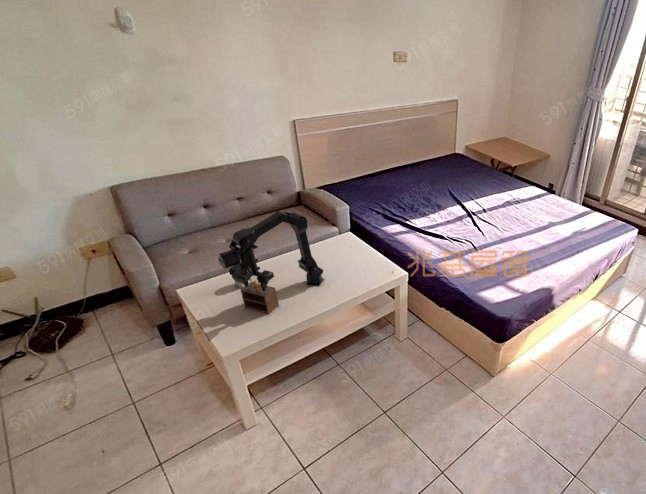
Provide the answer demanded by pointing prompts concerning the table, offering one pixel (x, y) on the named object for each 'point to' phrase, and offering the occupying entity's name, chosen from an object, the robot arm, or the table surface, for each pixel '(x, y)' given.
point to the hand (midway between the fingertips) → (255, 288)
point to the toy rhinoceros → (241, 284)
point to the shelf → (259, 297)
